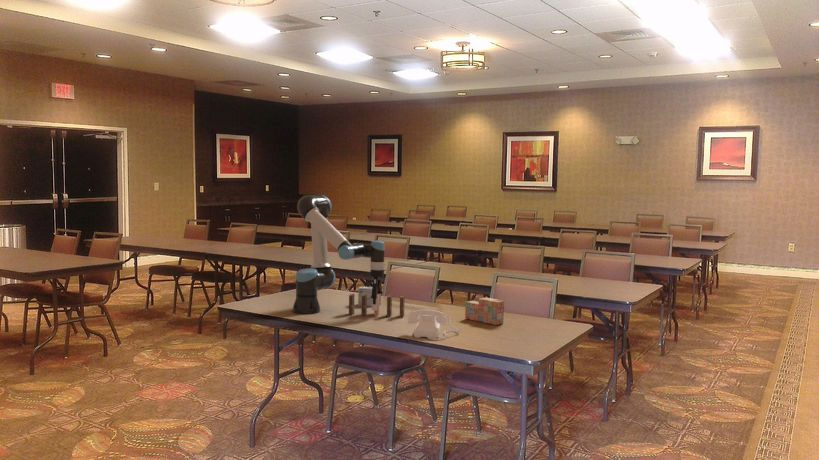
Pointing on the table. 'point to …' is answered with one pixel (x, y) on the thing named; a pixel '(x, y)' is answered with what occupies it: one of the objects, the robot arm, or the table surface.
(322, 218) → the robot arm
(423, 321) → the telephone
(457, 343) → the table surface
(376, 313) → the terracotta domino
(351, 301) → the walnut domino
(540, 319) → the table surface
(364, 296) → the walnut domino
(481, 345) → the table surface
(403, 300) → the walnut domino
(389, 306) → the walnut domino
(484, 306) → the stack of blocks
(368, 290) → the light bulb box
